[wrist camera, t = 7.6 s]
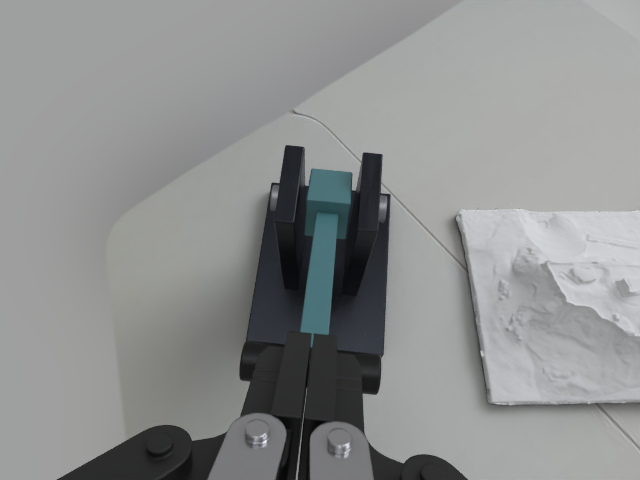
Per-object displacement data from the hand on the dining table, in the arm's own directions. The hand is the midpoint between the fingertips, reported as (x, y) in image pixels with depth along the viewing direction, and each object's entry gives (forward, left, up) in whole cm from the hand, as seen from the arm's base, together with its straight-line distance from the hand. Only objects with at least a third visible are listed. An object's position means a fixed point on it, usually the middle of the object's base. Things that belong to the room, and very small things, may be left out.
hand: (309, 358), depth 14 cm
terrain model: (+18, -15, -18) cm, 29 cm away
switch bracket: (+8, +4, -18) cm, 20 cm away
